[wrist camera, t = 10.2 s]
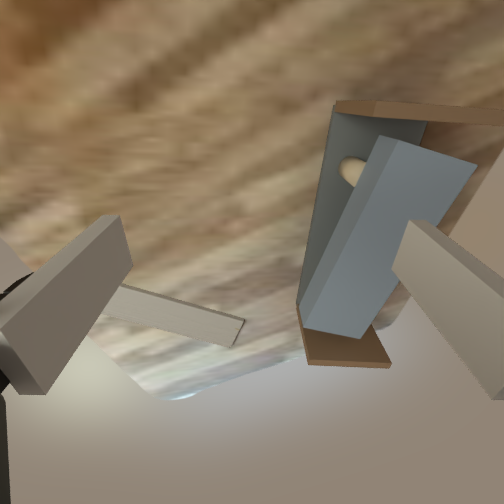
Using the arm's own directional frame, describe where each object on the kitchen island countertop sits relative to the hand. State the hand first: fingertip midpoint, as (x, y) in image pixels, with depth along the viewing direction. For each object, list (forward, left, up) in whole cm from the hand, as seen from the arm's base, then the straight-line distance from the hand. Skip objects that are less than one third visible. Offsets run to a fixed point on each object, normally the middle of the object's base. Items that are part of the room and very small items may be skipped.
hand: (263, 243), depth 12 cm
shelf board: (+10, +15, -21) cm, 28 cm away
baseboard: (+31, -16, -28) cm, 45 cm away
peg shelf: (+10, +15, -27) cm, 33 cm away
